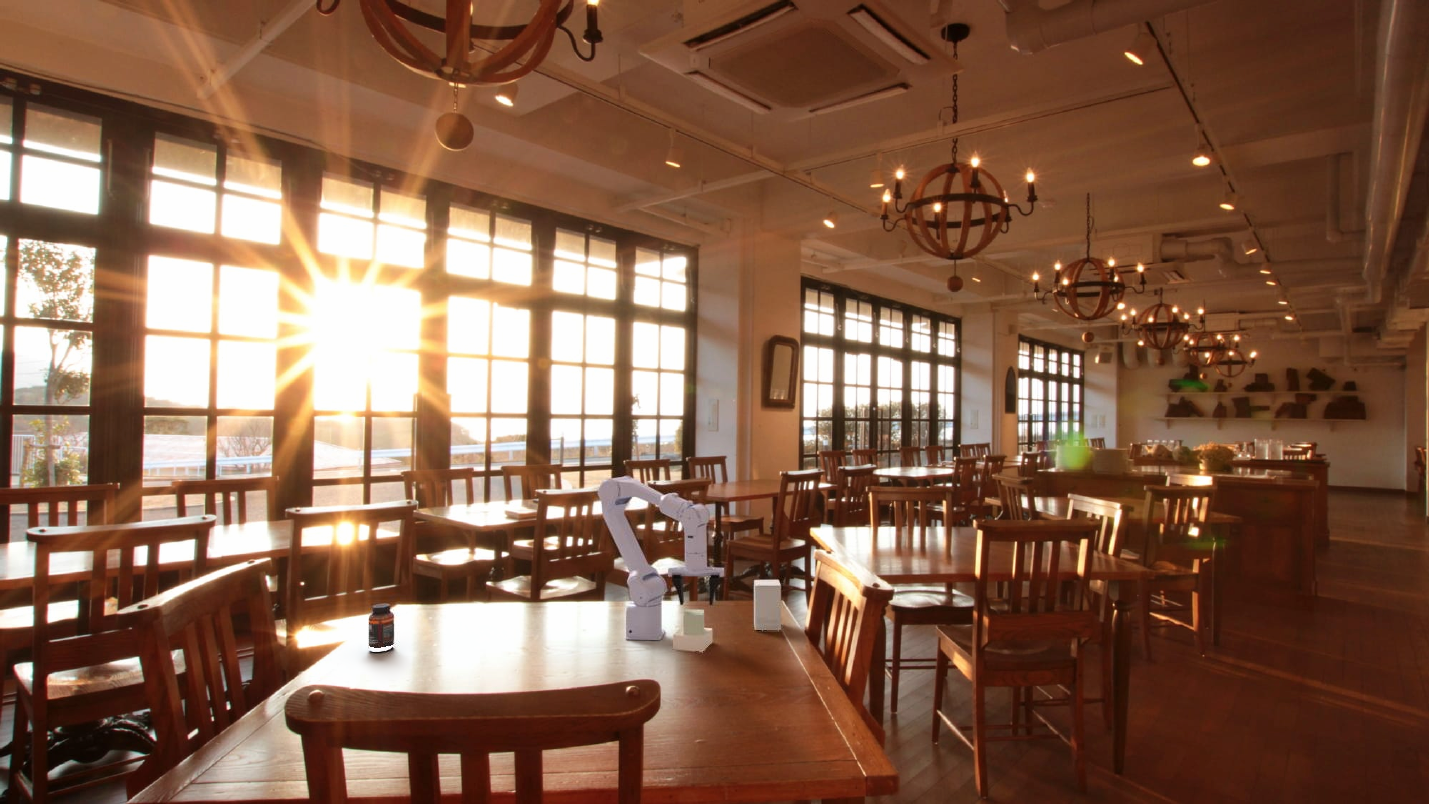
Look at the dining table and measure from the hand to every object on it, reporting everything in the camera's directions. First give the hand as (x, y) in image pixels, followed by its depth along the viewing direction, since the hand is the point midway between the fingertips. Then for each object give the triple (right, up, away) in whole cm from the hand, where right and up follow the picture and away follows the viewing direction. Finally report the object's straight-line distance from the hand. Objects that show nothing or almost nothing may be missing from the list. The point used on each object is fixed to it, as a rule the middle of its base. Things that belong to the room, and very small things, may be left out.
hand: (696, 604), depth 186 cm
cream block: (-1, -11, -1) cm, 11 cm away
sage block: (-1, -7, -1) cm, 7 cm away
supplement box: (+19, -11, +14) cm, 26 cm away
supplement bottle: (-80, -11, -4) cm, 81 cm away
